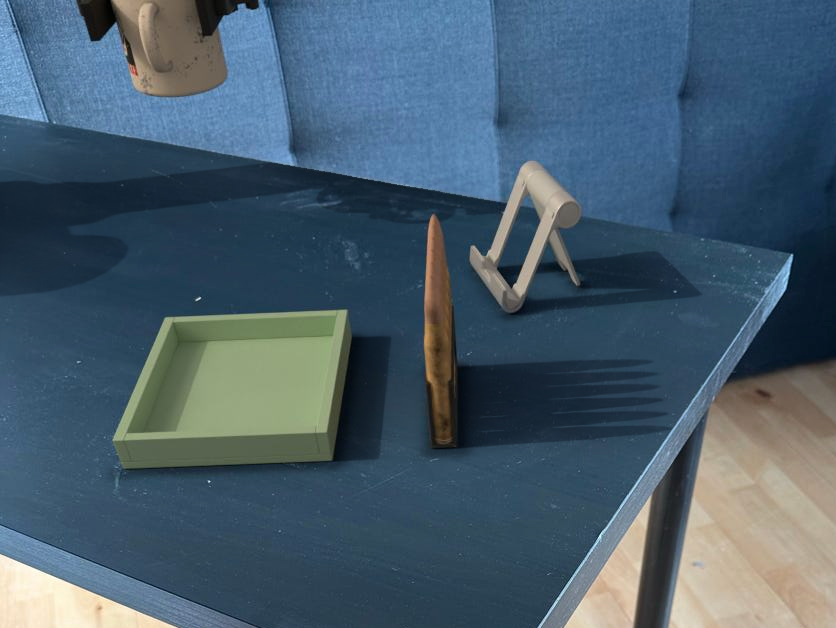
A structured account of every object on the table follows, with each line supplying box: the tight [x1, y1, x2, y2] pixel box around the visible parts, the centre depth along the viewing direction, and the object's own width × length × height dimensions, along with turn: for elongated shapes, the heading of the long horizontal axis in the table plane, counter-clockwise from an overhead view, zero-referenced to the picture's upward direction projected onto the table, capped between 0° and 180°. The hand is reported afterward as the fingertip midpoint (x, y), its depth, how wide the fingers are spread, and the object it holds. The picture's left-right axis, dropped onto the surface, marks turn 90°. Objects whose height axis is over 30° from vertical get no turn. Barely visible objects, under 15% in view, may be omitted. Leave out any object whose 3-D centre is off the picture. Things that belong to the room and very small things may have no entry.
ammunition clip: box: [423, 213, 459, 449], centre depth 64 cm, size 11×2×12 cm, turn 1°
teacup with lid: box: [110, 0, 228, 98], centre depth 81 cm, size 12×9×12 cm
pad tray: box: [112, 309, 353, 470], centre depth 69 cm, size 15×17×2 cm
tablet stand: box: [469, 160, 582, 314], centre depth 78 cm, size 9×8×8 cm
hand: (146, 20), depth 78 cm, fingers closed on teacup with lid, 9 cm apart
